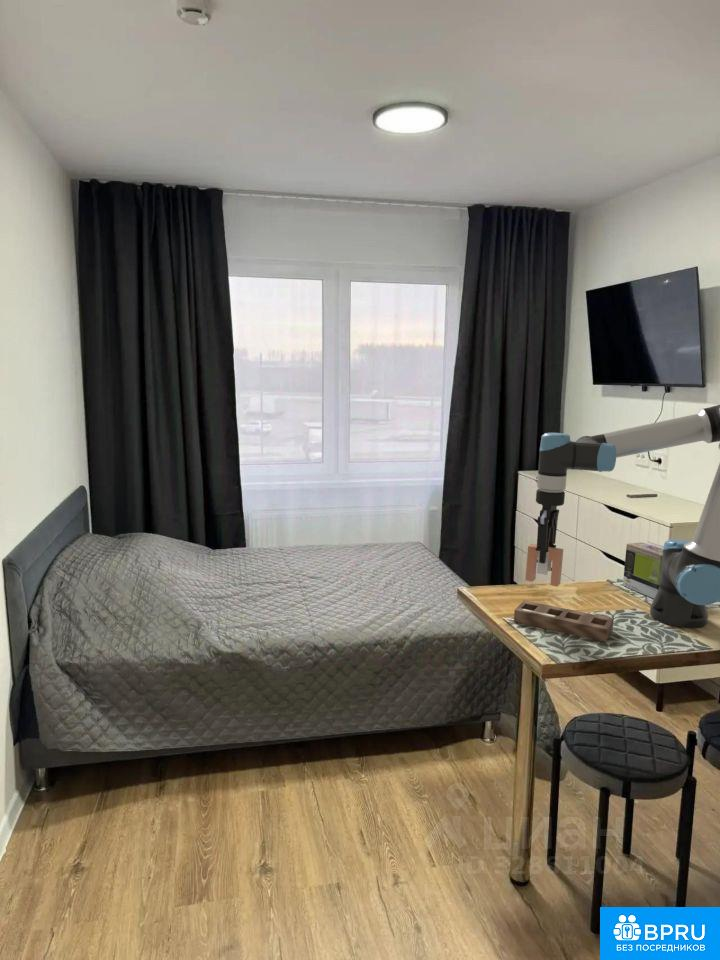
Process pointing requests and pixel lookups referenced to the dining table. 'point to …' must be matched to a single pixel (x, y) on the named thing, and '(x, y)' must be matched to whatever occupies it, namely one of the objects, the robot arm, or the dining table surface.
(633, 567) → the grey electronic device
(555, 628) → the brown compartment rack
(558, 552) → the pink u-shaped block
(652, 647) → the dining table surface
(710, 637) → the dining table surface
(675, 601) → the robot arm
